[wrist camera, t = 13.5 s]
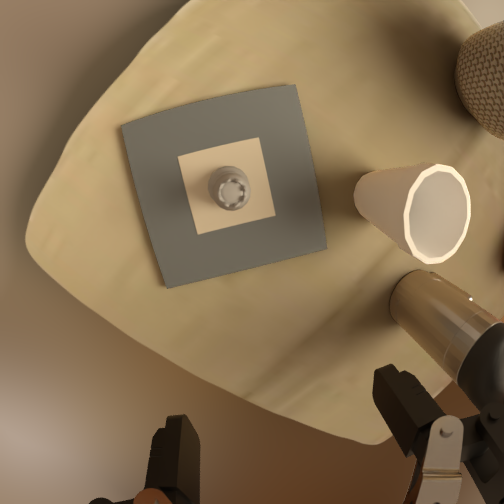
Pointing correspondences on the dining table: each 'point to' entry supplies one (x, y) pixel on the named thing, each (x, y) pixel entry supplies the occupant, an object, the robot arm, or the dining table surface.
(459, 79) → the planter
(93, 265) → the dining table surface
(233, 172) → the rook chess piece
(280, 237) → the board
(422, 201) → the foam cup
